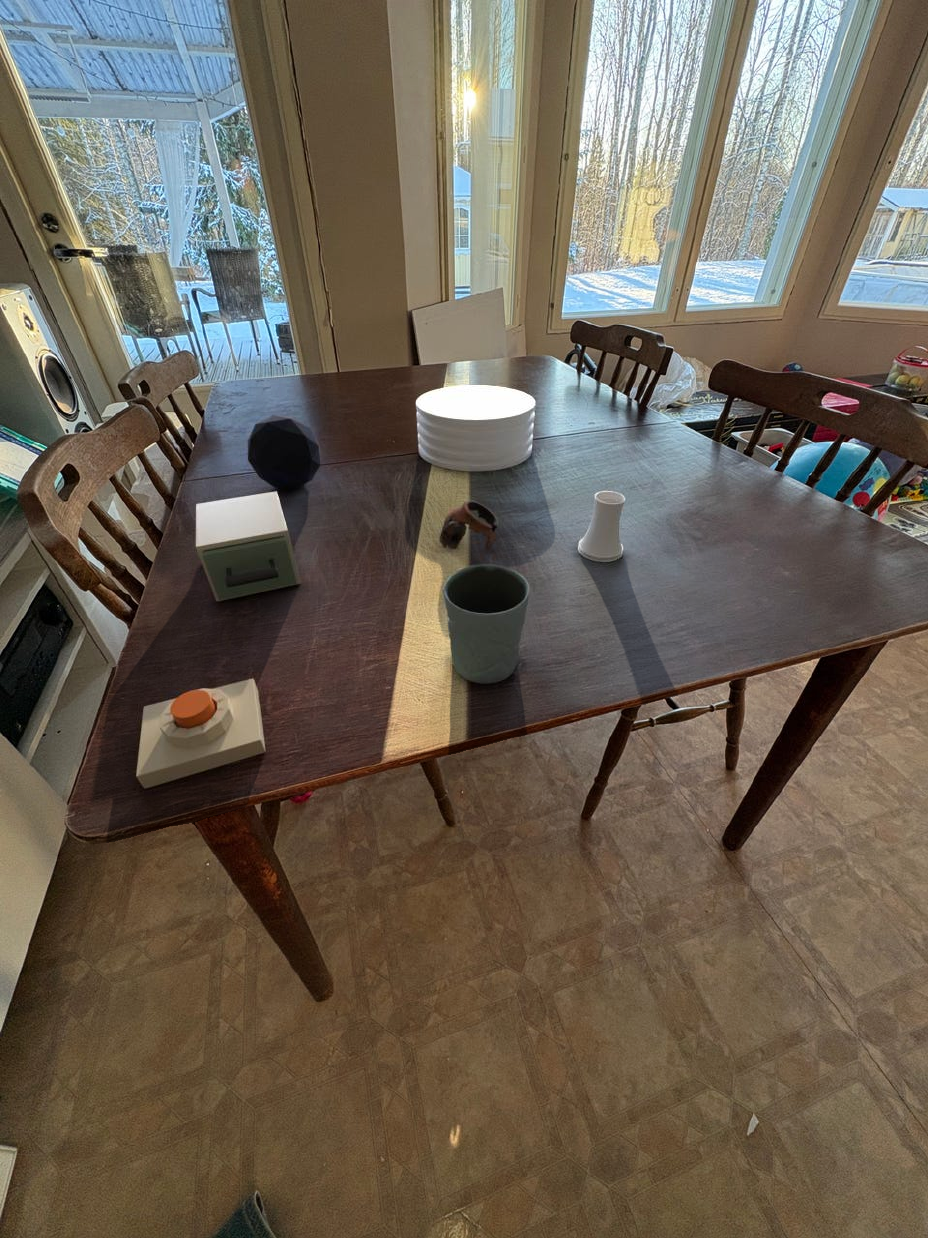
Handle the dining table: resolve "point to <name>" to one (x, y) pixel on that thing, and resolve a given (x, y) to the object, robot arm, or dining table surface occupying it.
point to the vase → (604, 529)
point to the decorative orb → (283, 452)
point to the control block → (200, 736)
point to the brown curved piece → (462, 516)
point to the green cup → (485, 620)
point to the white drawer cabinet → (240, 525)
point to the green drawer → (250, 567)
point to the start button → (193, 709)
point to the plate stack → (475, 427)
